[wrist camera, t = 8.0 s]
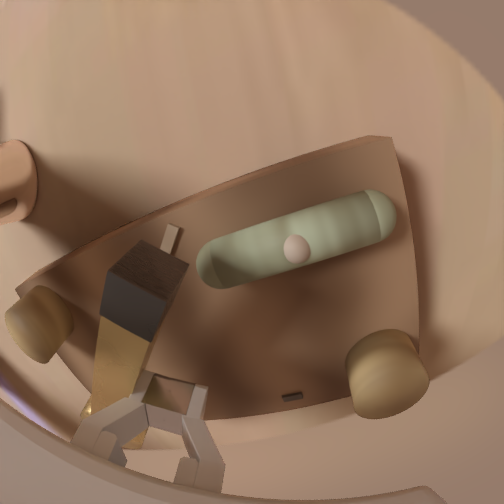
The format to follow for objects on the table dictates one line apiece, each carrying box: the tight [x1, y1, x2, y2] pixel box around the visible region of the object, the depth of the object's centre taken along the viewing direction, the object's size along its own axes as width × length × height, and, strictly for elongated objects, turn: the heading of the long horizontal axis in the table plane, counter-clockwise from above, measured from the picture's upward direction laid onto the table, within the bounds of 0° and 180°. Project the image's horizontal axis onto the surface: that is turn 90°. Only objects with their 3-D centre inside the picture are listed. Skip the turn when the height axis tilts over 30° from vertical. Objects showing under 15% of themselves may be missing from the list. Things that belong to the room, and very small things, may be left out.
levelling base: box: [5, 136, 429, 420], centre depth 14 cm, size 24×14×6 cm, turn 111°
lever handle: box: [80, 239, 190, 449], centre depth 12 cm, size 16×4×5 cm, turn 153°
